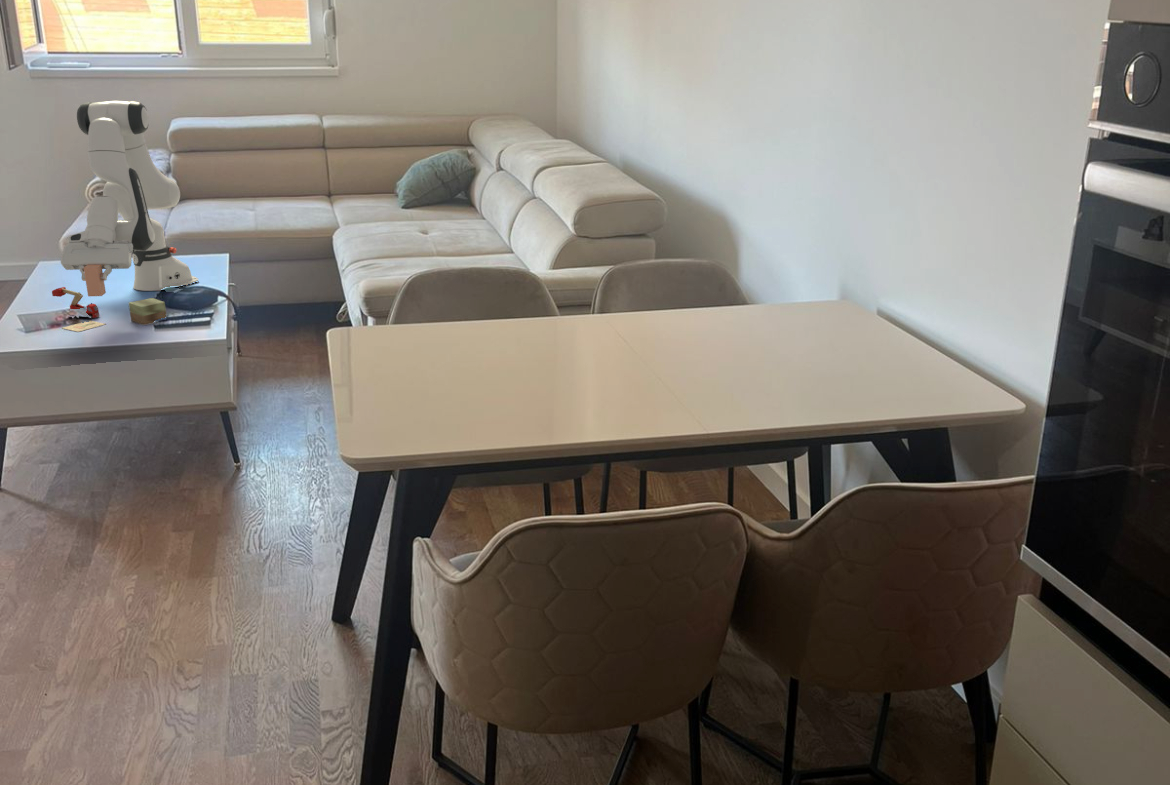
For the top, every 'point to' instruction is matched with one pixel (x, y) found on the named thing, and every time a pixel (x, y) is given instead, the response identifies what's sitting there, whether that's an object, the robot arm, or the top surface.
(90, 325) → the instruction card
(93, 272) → the terracotta column block
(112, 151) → the robot arm
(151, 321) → the tower base
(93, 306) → the toy fire truck
